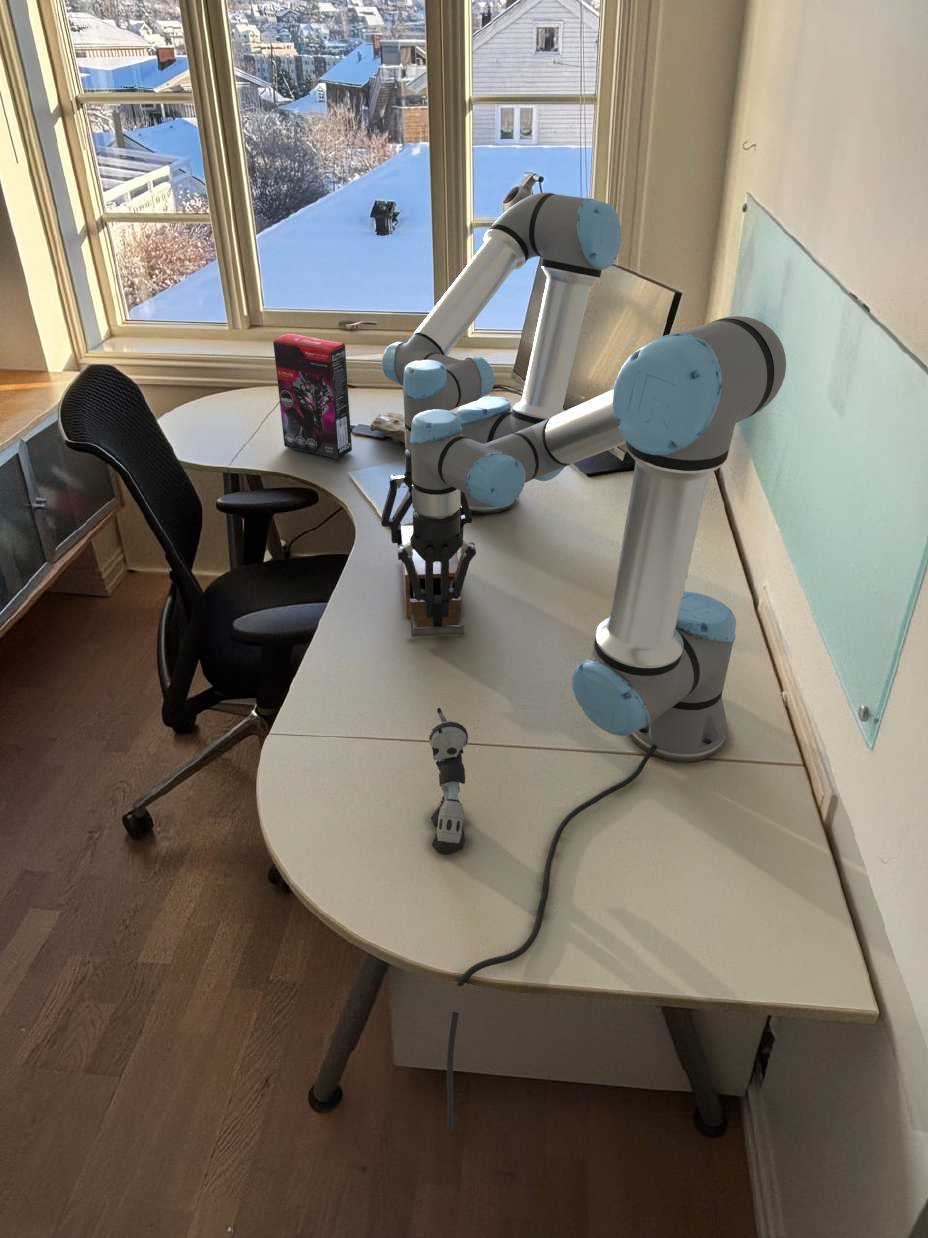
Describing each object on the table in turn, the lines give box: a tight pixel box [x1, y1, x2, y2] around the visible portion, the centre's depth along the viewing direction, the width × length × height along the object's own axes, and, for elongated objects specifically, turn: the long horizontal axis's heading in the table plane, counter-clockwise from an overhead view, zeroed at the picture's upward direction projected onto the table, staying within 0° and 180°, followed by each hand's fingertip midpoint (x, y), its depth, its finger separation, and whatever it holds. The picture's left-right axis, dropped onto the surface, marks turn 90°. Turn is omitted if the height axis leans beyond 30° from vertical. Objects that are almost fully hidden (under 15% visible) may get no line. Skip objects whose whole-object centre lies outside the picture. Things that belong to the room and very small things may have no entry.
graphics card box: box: [272, 332, 353, 460], centre depth 223 cm, size 17×7×27 cm, turn 62°
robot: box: [428, 707, 469, 855], centre depth 120 cm, size 20×5×20 cm, turn 3°
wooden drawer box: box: [401, 525, 459, 619], centre depth 174 cm, size 19×10×9 cm, turn 6°
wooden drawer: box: [410, 577, 465, 638], centre depth 165 cm, size 24×9×7 cm, turn 6°
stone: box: [369, 412, 405, 444], centre depth 234 cm, size 21×15×6 cm
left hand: (427, 555), depth 180 cm, fingers closed on wooden drawer box, 10 cm apart
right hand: (437, 631), depth 158 cm, fingers closed
